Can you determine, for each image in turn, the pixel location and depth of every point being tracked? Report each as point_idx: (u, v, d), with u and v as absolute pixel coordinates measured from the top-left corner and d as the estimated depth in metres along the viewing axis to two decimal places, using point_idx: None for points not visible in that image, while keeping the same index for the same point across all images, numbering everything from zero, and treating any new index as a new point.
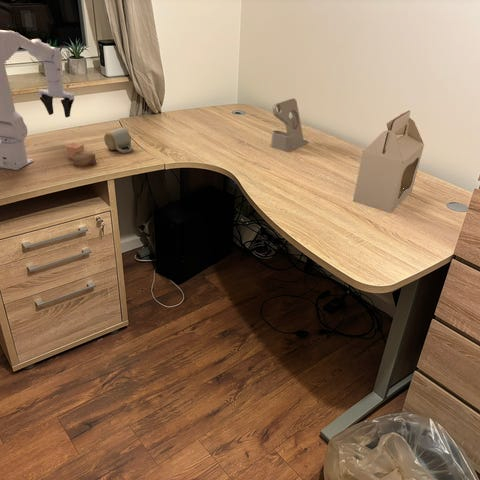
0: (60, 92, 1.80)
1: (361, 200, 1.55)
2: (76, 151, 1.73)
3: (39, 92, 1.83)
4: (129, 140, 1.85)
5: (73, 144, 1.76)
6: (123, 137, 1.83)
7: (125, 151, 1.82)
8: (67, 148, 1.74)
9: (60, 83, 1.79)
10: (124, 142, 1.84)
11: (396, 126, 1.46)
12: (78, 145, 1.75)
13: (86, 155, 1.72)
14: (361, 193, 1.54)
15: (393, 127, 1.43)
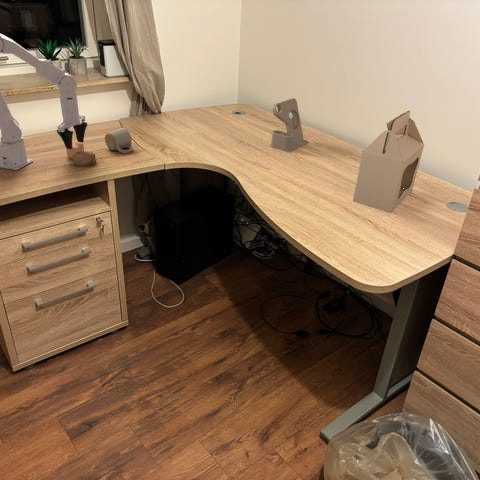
0: (64, 121, 1.68)
1: (361, 200, 1.55)
2: (76, 151, 1.73)
3: (79, 117, 1.76)
4: (130, 140, 1.85)
5: (73, 144, 1.76)
6: (124, 137, 1.83)
7: (126, 151, 1.82)
8: None
9: (64, 112, 1.66)
10: (125, 142, 1.84)
11: (396, 126, 1.46)
12: (78, 145, 1.75)
13: (86, 155, 1.72)
14: (361, 193, 1.54)
15: (393, 127, 1.43)
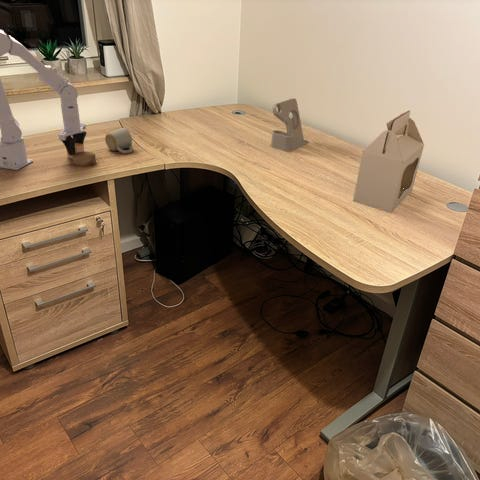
0: (66, 130, 1.70)
1: (361, 200, 1.55)
2: (76, 151, 1.73)
3: None
4: (130, 141, 1.85)
5: None
6: (124, 138, 1.83)
7: (126, 152, 1.82)
8: None
9: (66, 121, 1.68)
10: (125, 143, 1.83)
11: (396, 126, 1.46)
12: (78, 145, 1.75)
13: (86, 155, 1.72)
14: (361, 193, 1.54)
15: (393, 127, 1.43)
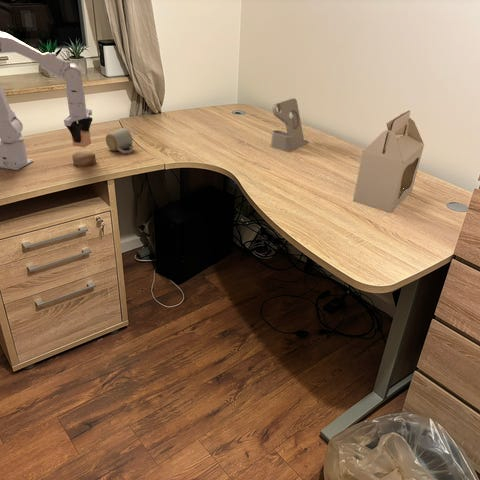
0: (71, 115, 1.62)
1: (361, 200, 1.55)
2: (82, 138, 1.66)
3: None
4: (131, 141, 1.84)
5: None
6: (125, 138, 1.82)
7: (127, 152, 1.82)
8: None
9: (71, 106, 1.60)
10: (126, 143, 1.83)
11: (396, 126, 1.46)
12: (84, 132, 1.67)
13: (86, 155, 1.72)
14: (361, 193, 1.54)
15: (393, 127, 1.43)
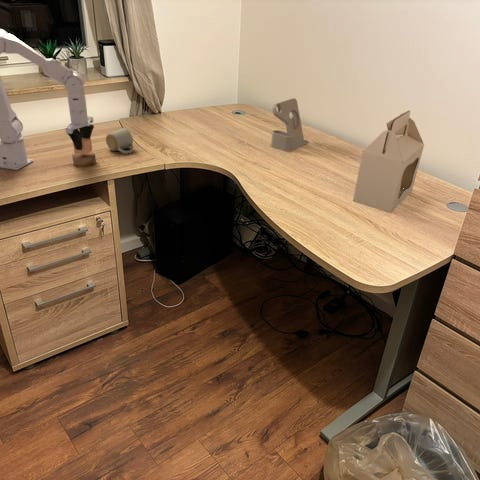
0: (72, 123, 1.63)
1: (361, 200, 1.55)
2: (83, 146, 1.67)
3: (87, 118, 1.71)
4: (131, 141, 1.84)
5: None
6: (125, 138, 1.82)
7: (127, 152, 1.82)
8: None
9: (73, 114, 1.61)
10: (126, 143, 1.83)
11: (396, 126, 1.46)
12: (85, 139, 1.68)
13: (86, 155, 1.72)
14: (361, 193, 1.54)
15: (393, 127, 1.43)
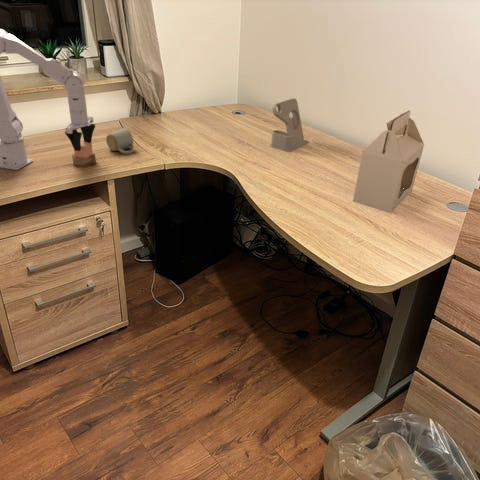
0: (72, 123, 1.63)
1: (361, 200, 1.55)
2: (84, 150, 1.67)
3: (87, 118, 1.71)
4: (131, 141, 1.84)
5: (81, 142, 1.69)
6: (125, 138, 1.82)
7: (127, 152, 1.82)
8: None
9: (73, 114, 1.61)
10: (126, 143, 1.83)
11: (396, 126, 1.46)
12: (86, 143, 1.69)
13: None
14: (361, 193, 1.54)
15: (393, 127, 1.43)
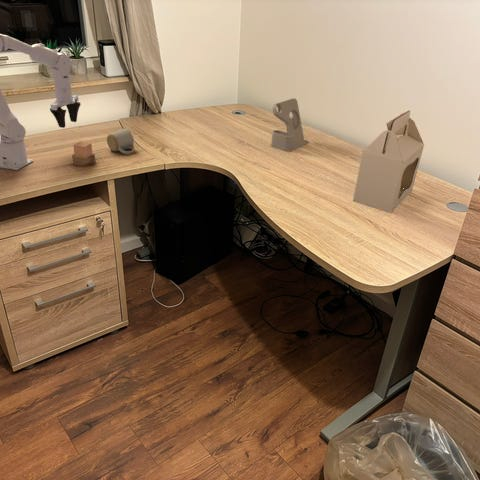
0: (58, 100, 1.71)
1: (361, 200, 1.55)
2: (84, 150, 1.68)
3: (73, 97, 1.80)
4: (132, 141, 1.84)
5: (81, 143, 1.70)
6: (126, 138, 1.82)
7: (128, 152, 1.81)
8: (75, 147, 1.68)
9: (58, 91, 1.69)
10: (127, 143, 1.83)
11: (396, 126, 1.46)
12: (86, 144, 1.69)
13: None
14: (361, 193, 1.54)
15: (393, 127, 1.43)
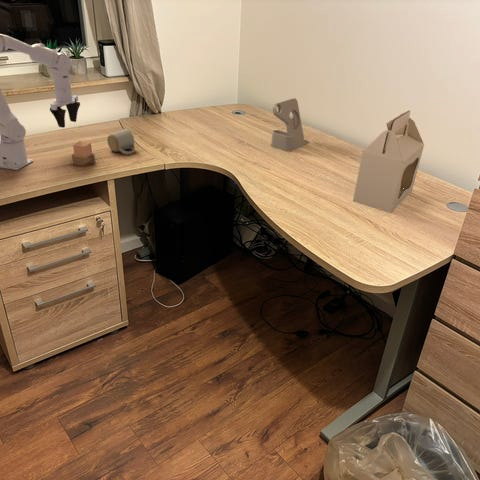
0: (57, 100, 1.71)
1: (361, 200, 1.55)
2: (83, 150, 1.68)
3: None
4: (132, 142, 1.84)
5: (80, 143, 1.70)
6: (126, 139, 1.82)
7: (128, 153, 1.81)
8: (74, 147, 1.68)
9: (57, 91, 1.69)
10: (127, 144, 1.82)
11: (396, 126, 1.46)
12: (85, 143, 1.69)
13: None
14: (361, 193, 1.54)
15: (393, 127, 1.43)
